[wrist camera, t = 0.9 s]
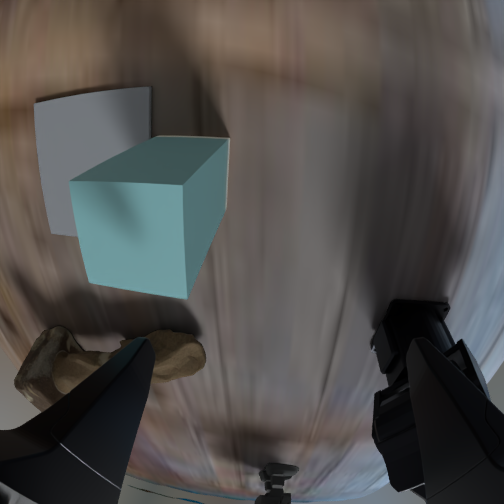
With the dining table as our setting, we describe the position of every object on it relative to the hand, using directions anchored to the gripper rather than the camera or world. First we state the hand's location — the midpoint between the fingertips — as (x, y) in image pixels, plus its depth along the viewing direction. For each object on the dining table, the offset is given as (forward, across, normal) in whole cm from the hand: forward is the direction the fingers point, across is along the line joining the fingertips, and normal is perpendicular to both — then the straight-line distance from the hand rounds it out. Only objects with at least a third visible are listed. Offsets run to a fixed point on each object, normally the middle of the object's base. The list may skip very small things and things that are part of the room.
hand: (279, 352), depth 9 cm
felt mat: (+13, +14, -4) cm, 20 cm away
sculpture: (+13, +18, +15) cm, 27 cm away
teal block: (+13, +6, -3) cm, 15 cm away
